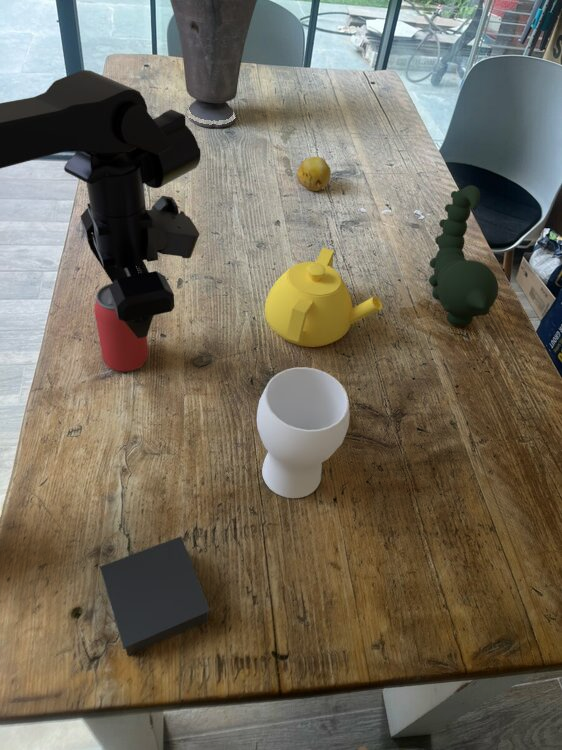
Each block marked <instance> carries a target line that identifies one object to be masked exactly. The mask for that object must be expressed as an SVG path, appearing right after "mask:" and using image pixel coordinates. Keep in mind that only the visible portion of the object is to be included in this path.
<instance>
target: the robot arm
mask: <svg viewBox="0 0 562 750" xmlns="http://www.w3.org/2000/svg"><path fill="white" fill-rule="evenodd" d="M186 121H187V120H186V115H185V114H183V113H181V112H179V111H176V110H174V109H172V108H171V109H168V110H166V111H164V112H162V113H161V114H160V115H159V116H157V117H155V118H153V117H152V116H151V115H150V113H149V112H148V105H147V102H146V100H145V97H143V95H142V93H141V91H139V90H137V89H134V88H133V87H130V86H128V85H125V84H123V83H120V82H119V81H116V80H114V79H111V78H109V77H107V76H104V75H102V74H100V73H97V72H95V71H93V70H89V69H88V70H87V69H82V70H79V71H77V72H74V73H71V74H69V75H67V76H64V77H61V78H59V79H56V80H54V81H53V82H52V83H51V85H49V87H48V88H47V89H46V91H45V92H43V93H40V94H38V95H36V96H33V97H32V96H31V97H27V98H22V99H21V98H20V99H16V100H10V101H5V102H0V169H5V168H9V167H11V166H16V165H20V164H22V163H26V162H31V161H35V160H38V159H42V158H46V157H50V156H53V155H57V154H61V153H64V152H75V153H74V154H73V156H71V157H70V158H69V159H68V161H67V162H66V163H65V164H64V167H63V170H64V172H65V173H68V174H69V175H71V176H73V177H75V178H77V179H78V180H81V181H82V182H85V183H86V189H87V194H88V195H87V196H88V200H89V203H87V204H86V206H87V208H86V209H85V210H84V211H83V212H82V213H81V215H80V216H79V217H80V222H81V227H82V231H83V233H84V236H85V238H86V241H87V243H88V246H89V248H90V249H89V250H90V251H91V252H92V253H93V255H94V256H95V258H96V259H97V261H98V263H99V264H100V266H101V267H102V269H103V271H104V272H105V273H106V275H107V277H108V278H109V280H110V281H111V283H112V284H111V283H110V284H111V285H110V286H109V291H110V296H111V300H112V304H113V307H114V309H115V312H116V314H117V317H118V319H119V320H122V321H124V322H125V324H126V325H127V326H128V327H129V328H130V329H131V331H132V332H133V333H134V334H135V335H136V337H137V338H143V337H146V336H147V337H148V334H149V332H150V331H149V330H150V327H151V324H152V321H153V318H154V316H157V315H161V314H166V313H171V312H172V311H173V310H174V309H175V308H176V307H175V305H176V304H175V294H174V292H173V290H172V287H171V285H170V283H169V281H168V280H167V278H166V276H165V275H164V274H162V273H160V272H159V271H157V270H153V271H149V269H148V267H147V265H146V263H145V261H146V262H147V263H149V262H155V261H158V260H159V254H161V255H168V256H175V257H181V258H182V259H190V258H192V256H193V253H194V250H195V247H196V245H197V242H198V239H199V237H200V232H199V230H198V229H197V227H196V225H195V224H194V222H193V220H192V219H191V217H189V216H188V215H186V213H185V211H183V210H180V211H179V206H178V204H177V202H176V201H175V199H174V197H172V196H168V195H161V196H160V197H159V198H158V199H157V201H155V203H153V205H152V206H151V208H150V209H147V208H146V207H147V206H146V205H147V204H146V195H145V185H146V186H147V187H149V188H152V189H159V188H162V187H163V186H165V185H168V183H171V182H172V181H174V180H176V179H178V178H180V177H182V176H184V175H185V174H188V173H189V172H191V171H193V170H195V169H196V168H197V167H198V166H199V164H200V161H201V156H202V155H201V154H202V153H201V148H200V147H199V145H198V142H197V138H196V137H195V135H194V133H193V132H192V130H191V129H190V127H188V126H187V125H186Z"/></svg>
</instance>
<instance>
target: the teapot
mask: <svg viewBox="0 0 562 750" xmlns="http://www.w3.org/2000/svg"><path fill="white" fill-rule="evenodd" d="M334 254H335V250H332V249H329V248H326V247H322V248H321V250H320V252H319V254H318V255H317V258H316V260H315V261H303V262H300V263H296V264H295V265H292V266H291V267H289V269H287V270H286V271H285V272H284V273H283V274H282V275H281V276H280V277H279V278H278V279H276V281H275V282H274V284H273V285H272V287H271V289H269V292H268V295H267V296H266V300H265V305H264V317H265V319H266V322H267V324H268V326H269V327H270V328H271V329H272V330H273V332H274V333H276V334H277V335H278V336H279V337H280V338H282V339H283V340H285V341H287V342H288V343H290V344H293V345H295V346H300V347H305V348H317V347H318V348H319V347H323V346H327V345H329V344H332V343H334V342H336V341H339V340H340V339H341V338H343V337H344V336H345V335H346V334H347V333H348V331H349V330H350V328H351V326H352V325H353V324H355V323H357V322H358V321H361V320H363V319H365V318H367V317H369V316H371V315H373V314H375V313H377V312H379V311H381V310H383V302H382V301H381V299H380V298H379V297H378V296H376V295H375V296H372V297H370V298H369V299H367V300H365V301H363V302H361V303H359V304H357V305H356V306H354V307H353V301H352V296H351V294H350V291H349V289H348V286H347V285H346V283H345V280H344V279H343V277H342V276H341V275H340V274H339V272H338V271H337V270H336V269H334V268H333V263H334Z"/></svg>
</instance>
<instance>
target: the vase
mask: <svg viewBox="0 0 562 750" xmlns="http://www.w3.org/2000/svg"><path fill="white" fill-rule="evenodd" d="M169 2H170V5H171V8H172V12H173V15H174V19H175V23H176V27H177V32H178V37H179V42H180V47H181V55H182V61H183V62H182V63H183V69H184V79H185V89H186V92H187V95H188V96H190V97H191V98H193V99H195V100H194V101H193V102H192V103H191V104H189V106H190V107H189V106H188V107H189V110H190V112H191V114H192V115H194V116H195V117H198V118H200V119H204V120H211V121H213V120H215V121H219V120H226V119H229V118H230V117H231V116H232V115H233V111H234V109H233V108H232V107H231V106H230V105H229V104H228V103H229V102H231V101H232V100H234V99H235V98H236V96H237V91H238V85H239V79H240V78H239V77H240V71H241V66H242V59H243V54H244V51H245V50H244V49H245V45H246V41H247V38H248V35H249V34H248V33H249V29H250V26H251V23H252V19H253V15H254V12H255V8H256V5H257V2H258V0H169ZM232 109H233V110H232ZM190 119H191V118H189V119H188V120H189V121H191V122H192V123H193V124H195V125H198V126H200V127H203V128H209V129H211V128H218V129H221V128H227V127H229V126H231V125H233V124H235V122H236V121H237V116H236V118H235V119H234V120H233V121H231V122H229V123H227V124H222V125H216V124H212V125H209V124H203V123H199V122H197V121H194V120H193V119H191V120H190Z"/></svg>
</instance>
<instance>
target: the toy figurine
mask: <svg viewBox="0 0 562 750" xmlns="http://www.w3.org/2000/svg"><path fill="white" fill-rule="evenodd" d="M450 198H451V200H452V203H451V204H450V203H447V204H446V205H444V211H445V212H446V214H447V218H446V219H445V218H442V219H441V220H439V223H438V225H439V227H440V228H442V233H441V234H440V235H437V236H436V238H435V244H436V245H437V247H438V251H437V253H436V255H435V257H432V258H431V260H429V266H430V268H431V269H433V274H432V275H431V276H430V277H429V279H428V281H429V282H428V283H429V284H430V286H432V287H433V290H432V292H431V294H432V297H433V298H434V299H435V300H439V302H440V304H441V307H443V310H444V311H445V312H446V313H447V315H446V320H447V322H448V324H449V325H451V326H453V327H458V328H461V327H462V328H463V327H467V326H469V325H471V324H472V322H473V320H474V318H476V317H479V316H487V315H488V314H489V313H490V309H491V308H492V307H493V305H494V304H495V302H496V300H497V298H498V294H499V282H498V279H497V276H496V274H495V272H494V271H492V269H491V268H490V267H489V266H487V264H485V263H483V262H480V261H478V260H473V259H470V260H469V259H466V258H465V252H464V251H463V249H464V247H465V243H466V242H465V234H466V233H467V229H468V224H467V221H468V220H469V218H470V217H471V213H472V212H471V209H472V210H473V211H475V210H477V208H478V206H479V203H480V199H481V192H480V189H479V188H478V187H477V186H475V185H467V186H465V187H464V188H461V189H459V190H457V191H456V190H453V191H451V193H450Z"/></svg>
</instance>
